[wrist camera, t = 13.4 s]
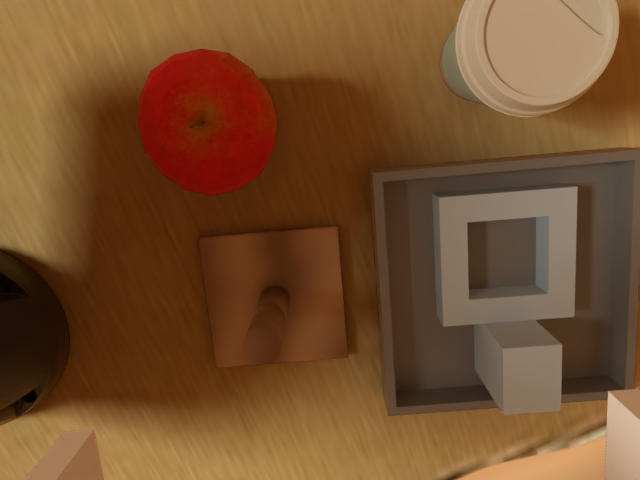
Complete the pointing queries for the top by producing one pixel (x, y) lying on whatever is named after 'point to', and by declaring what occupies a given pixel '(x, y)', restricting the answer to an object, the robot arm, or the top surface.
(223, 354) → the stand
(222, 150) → the apple
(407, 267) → the tray
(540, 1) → the coffee cup
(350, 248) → the top surface
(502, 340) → the ring
